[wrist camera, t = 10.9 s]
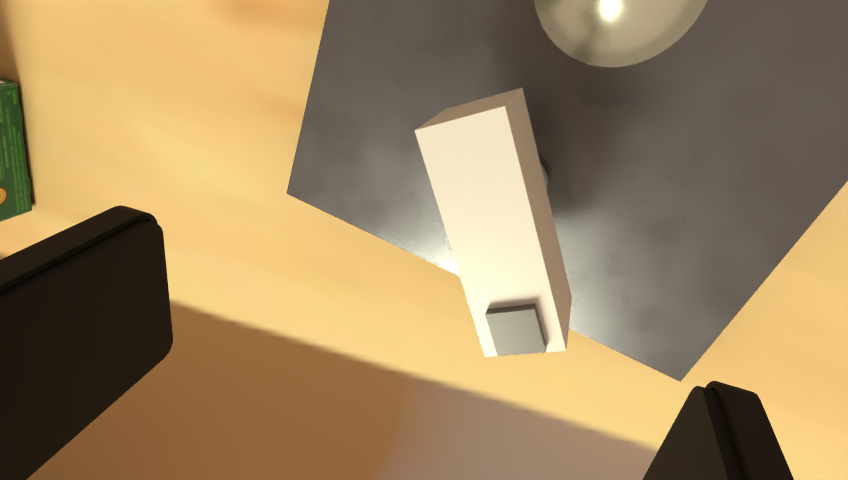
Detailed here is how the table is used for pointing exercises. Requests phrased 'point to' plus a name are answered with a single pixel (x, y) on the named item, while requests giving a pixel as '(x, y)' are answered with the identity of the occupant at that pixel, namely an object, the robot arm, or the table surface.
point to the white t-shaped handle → (499, 223)
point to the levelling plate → (600, 141)
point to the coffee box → (12, 155)
